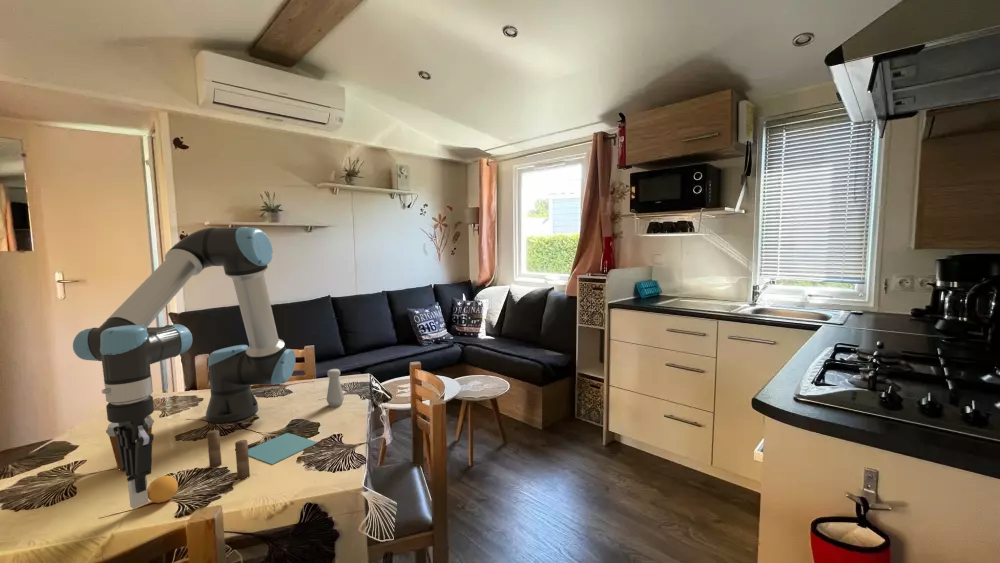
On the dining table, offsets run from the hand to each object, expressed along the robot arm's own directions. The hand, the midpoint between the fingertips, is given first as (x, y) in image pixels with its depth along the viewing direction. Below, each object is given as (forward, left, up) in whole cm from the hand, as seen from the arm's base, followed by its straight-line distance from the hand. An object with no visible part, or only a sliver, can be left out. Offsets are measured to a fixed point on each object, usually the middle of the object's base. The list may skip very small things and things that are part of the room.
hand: (139, 504), depth 92 cm
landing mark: (0, +33, -1) cm, 33 cm away
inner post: (-6, +18, -1) cm, 20 cm away
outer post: (+7, +18, -1) cm, 20 cm away
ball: (0, +4, +1) cm, 4 cm away
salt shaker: (-13, +63, -2) cm, 64 cm away
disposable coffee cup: (-26, +8, -2) cm, 27 cm away
